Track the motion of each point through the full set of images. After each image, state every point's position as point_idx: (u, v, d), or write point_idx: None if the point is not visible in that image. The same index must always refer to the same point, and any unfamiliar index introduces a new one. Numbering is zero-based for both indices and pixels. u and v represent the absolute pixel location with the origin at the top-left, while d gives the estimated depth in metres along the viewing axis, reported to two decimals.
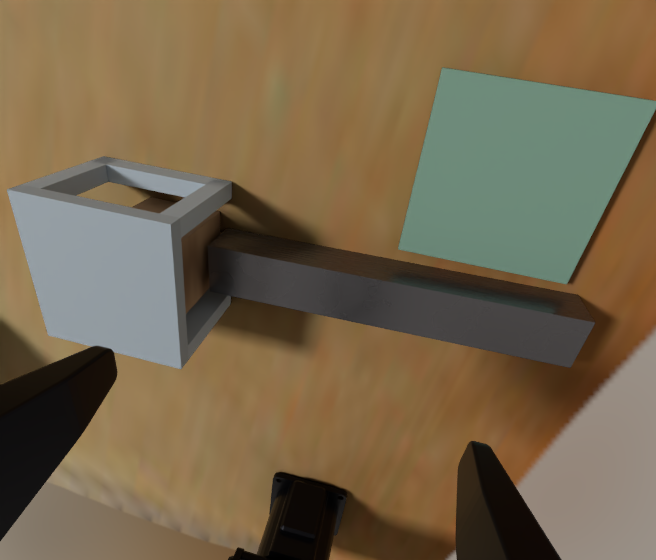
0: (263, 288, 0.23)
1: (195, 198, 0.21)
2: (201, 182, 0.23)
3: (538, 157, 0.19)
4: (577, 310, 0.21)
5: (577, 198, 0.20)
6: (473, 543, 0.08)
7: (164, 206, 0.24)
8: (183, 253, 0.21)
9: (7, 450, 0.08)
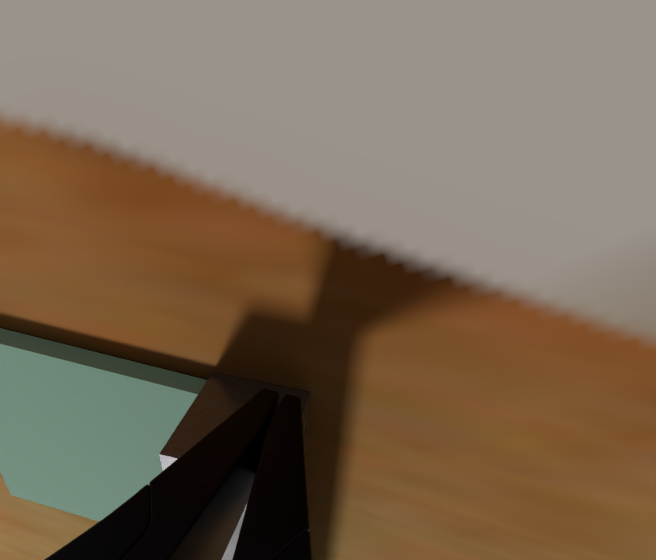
0: None
1: None
2: None
3: (45, 430, 0.14)
4: None
5: (72, 391, 0.13)
6: None
7: None
8: None
9: (220, 512, 0.07)
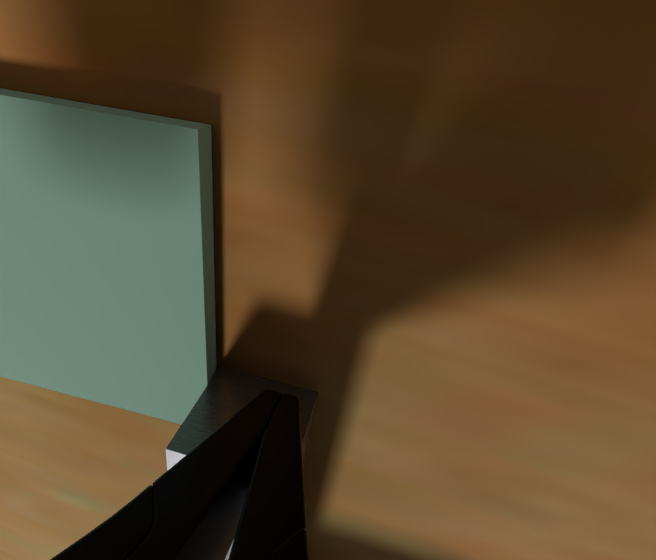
0: None
1: None
2: None
3: None
4: None
5: (16, 158, 0.09)
6: None
7: None
8: None
9: (223, 513, 0.07)
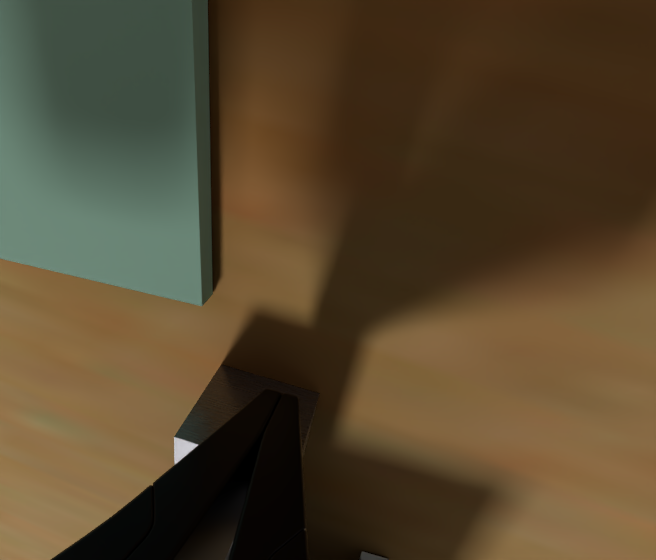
0: None
1: None
2: None
3: None
4: None
5: None
6: None
7: None
8: None
9: (223, 513, 0.07)
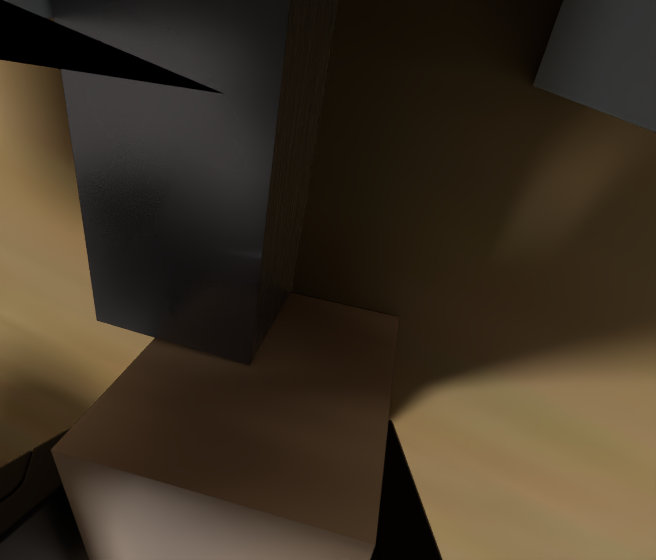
0: (202, 174, 0.06)
1: None
2: None
3: None
4: None
5: None
6: None
7: None
8: (121, 431, 0.06)
9: None
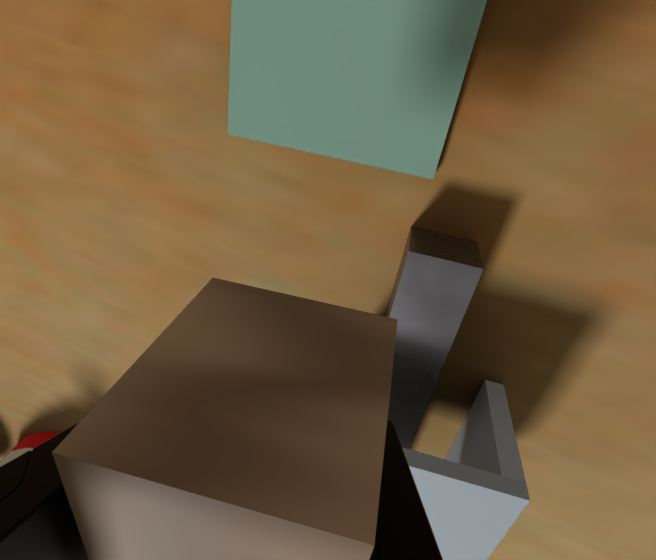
0: None
1: None
2: None
3: (309, 2, 0.15)
4: (406, 254, 0.18)
5: None
6: None
7: None
8: (122, 433, 0.06)
9: None
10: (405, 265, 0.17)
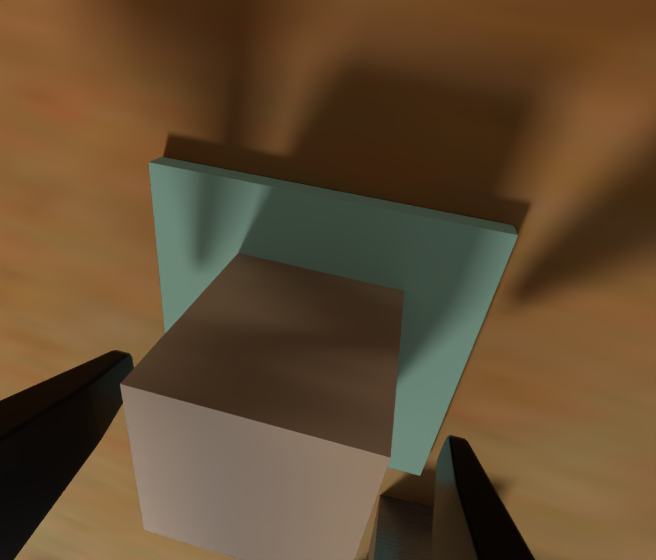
0: None
1: None
2: None
3: None
4: (373, 551, 0.15)
5: (318, 247, 0.10)
6: (447, 536, 0.08)
7: None
8: (176, 372, 0.07)
9: (30, 457, 0.08)
10: None
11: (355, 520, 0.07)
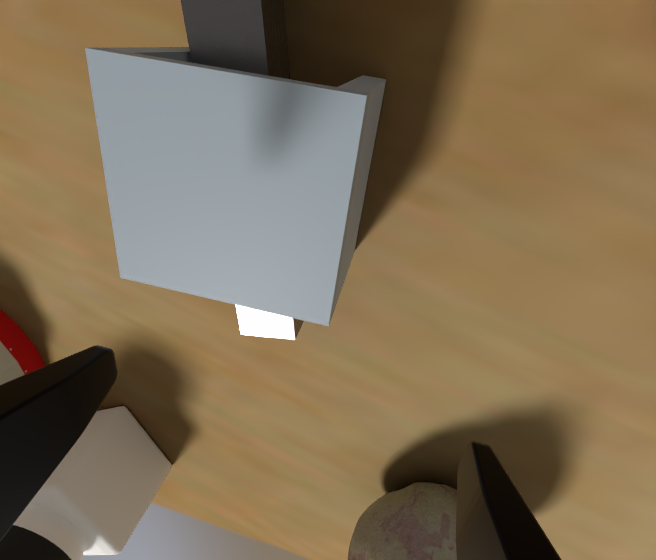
0: None
1: None
2: None
3: None
4: None
5: None
6: (473, 543, 0.08)
7: None
8: None
9: (7, 450, 0.08)
10: None
11: None
